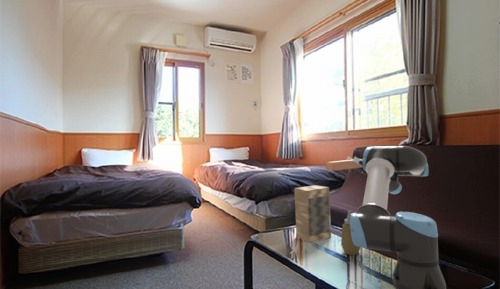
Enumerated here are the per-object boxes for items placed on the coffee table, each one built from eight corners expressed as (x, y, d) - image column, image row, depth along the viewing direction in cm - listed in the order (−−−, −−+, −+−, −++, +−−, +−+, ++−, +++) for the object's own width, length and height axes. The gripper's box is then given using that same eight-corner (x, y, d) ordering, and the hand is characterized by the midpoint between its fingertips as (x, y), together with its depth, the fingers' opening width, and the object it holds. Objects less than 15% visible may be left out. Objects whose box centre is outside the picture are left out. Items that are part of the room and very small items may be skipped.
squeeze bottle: (363, 256, 120) (361, 213, 120) (342, 256, 122) (340, 213, 121) (359, 249, 128) (357, 208, 128) (340, 249, 129) (338, 208, 129)
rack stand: (318, 232, 154) (316, 185, 154) (331, 237, 145) (329, 187, 145) (296, 236, 148) (294, 188, 148) (309, 242, 139) (306, 190, 139)
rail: (359, 166, 153) (358, 158, 153) (365, 166, 149) (364, 159, 149) (326, 170, 143) (326, 162, 143) (332, 170, 139) (331, 162, 139)
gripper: (391, 186, 148) (361, 166, 139) (364, 182, 164) (336, 164, 154) (395, 172, 150) (366, 152, 141) (368, 170, 165) (341, 151, 156)
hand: (350, 158), depth 148 cm, fingers closed on rail, 4 cm apart
